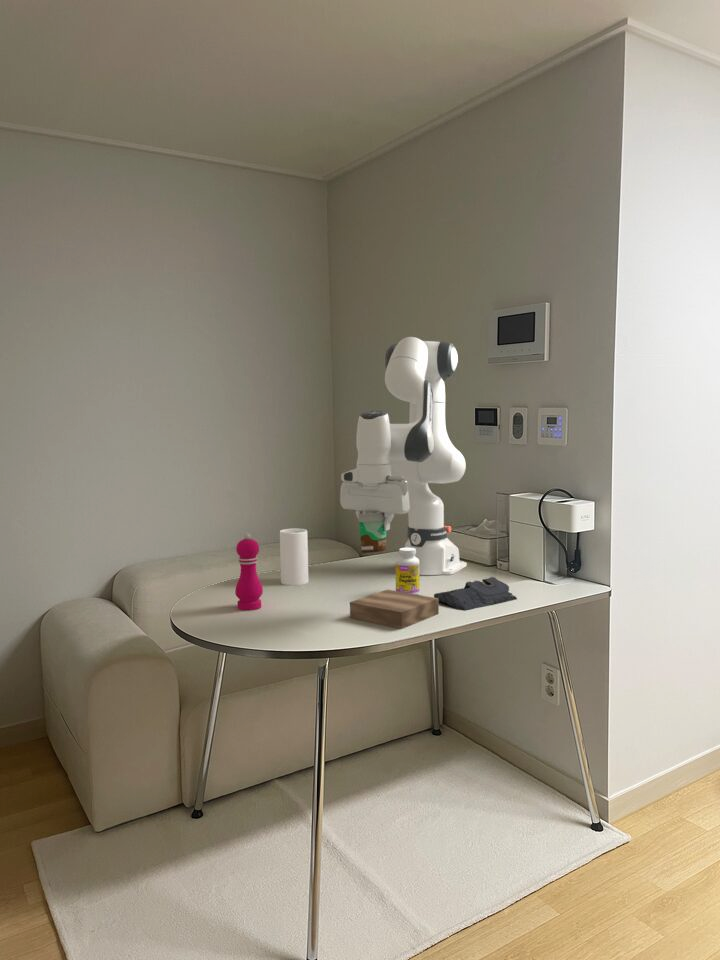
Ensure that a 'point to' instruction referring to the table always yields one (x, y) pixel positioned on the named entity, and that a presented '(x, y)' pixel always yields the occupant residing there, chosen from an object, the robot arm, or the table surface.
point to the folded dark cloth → (477, 594)
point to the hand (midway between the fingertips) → (374, 528)
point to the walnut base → (394, 608)
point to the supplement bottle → (407, 571)
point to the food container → (372, 532)
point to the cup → (294, 556)
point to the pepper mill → (248, 575)
